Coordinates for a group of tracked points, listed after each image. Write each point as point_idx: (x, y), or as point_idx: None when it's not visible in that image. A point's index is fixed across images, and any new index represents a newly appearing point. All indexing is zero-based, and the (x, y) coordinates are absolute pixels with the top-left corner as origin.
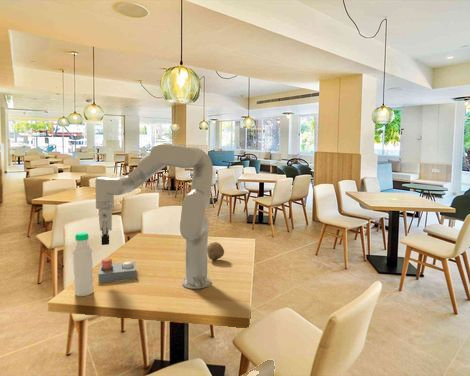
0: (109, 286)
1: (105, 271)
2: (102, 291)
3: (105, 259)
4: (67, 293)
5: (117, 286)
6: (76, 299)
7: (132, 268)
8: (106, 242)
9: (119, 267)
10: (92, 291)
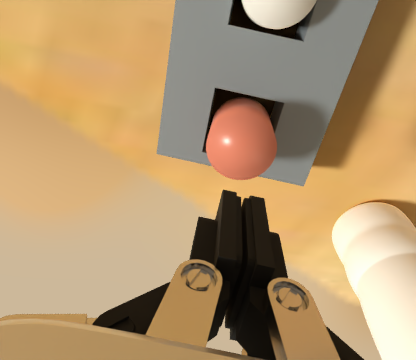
0: (372, 130)
1: (284, 146)
2: (407, 168)
3: (220, 153)
4: (326, 271)
5: (403, 94)
6: None
7: None
8: (276, 241)
9: (263, 52)
10: (400, 210)
